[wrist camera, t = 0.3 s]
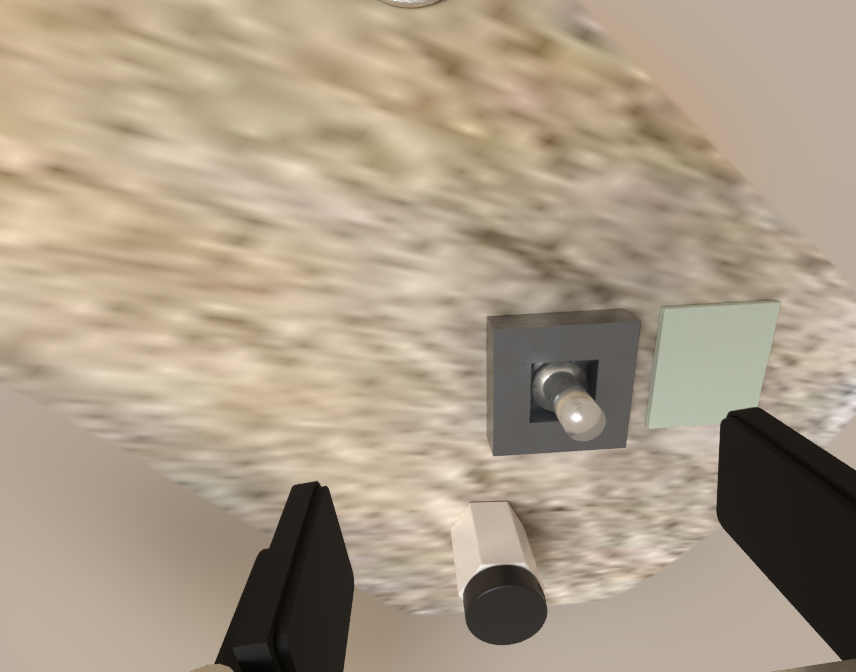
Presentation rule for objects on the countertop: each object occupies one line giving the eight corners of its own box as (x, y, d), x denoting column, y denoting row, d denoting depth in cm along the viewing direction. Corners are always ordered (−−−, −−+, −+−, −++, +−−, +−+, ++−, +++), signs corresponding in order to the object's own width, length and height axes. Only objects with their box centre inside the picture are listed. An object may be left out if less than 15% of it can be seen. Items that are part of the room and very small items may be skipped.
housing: (486, 316, 47) (493, 329, 43) (622, 308, 47) (640, 321, 44) (486, 435, 52) (493, 456, 48) (609, 427, 52) (625, 447, 48)
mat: (660, 306, 47) (664, 309, 47) (775, 300, 48) (780, 302, 47) (644, 425, 52) (648, 428, 52) (748, 418, 53) (753, 422, 52)
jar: (495, 564, 58) (516, 658, 47) (439, 540, 57) (448, 633, 46) (535, 513, 56) (567, 600, 45) (478, 487, 54) (496, 571, 43)
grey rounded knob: (528, 356, 48) (555, 396, 39) (582, 352, 48) (620, 392, 39) (527, 404, 50) (551, 452, 41) (578, 401, 50) (614, 448, 41)
